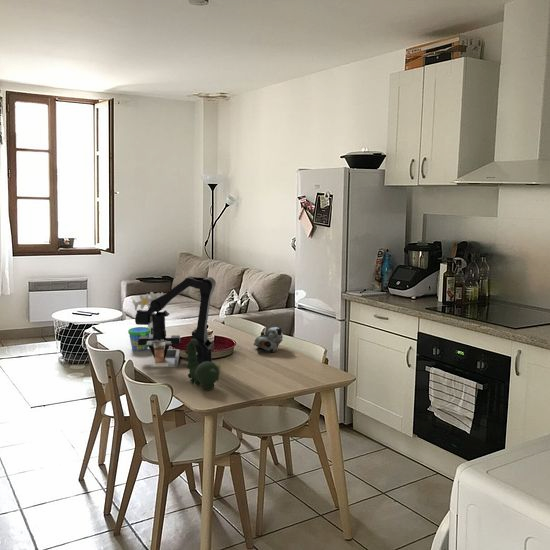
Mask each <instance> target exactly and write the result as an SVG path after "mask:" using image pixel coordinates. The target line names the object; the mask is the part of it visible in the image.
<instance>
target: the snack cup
mask: <svg viewBox="0 0 550 550" xmlns="http://www.w3.org/2000/svg"><path fill="white" fill-rule="evenodd" d="M147 327H148V326H147ZM147 327H146V326H138V327H137V326H136V327H131V328H128V330H127V331H128V335H129V339H130V340H129V341H130V345H131V350H132V351H134V352H135V351H136V352H141V351H142V352H143V351H145V350H148V348H149V347H147V346H146V345H147V343H146V344H145V345H138V339H139V337H140V336H148V338H149V334H150V332H151V331H150V328H147Z"/></svg>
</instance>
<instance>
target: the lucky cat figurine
mask: <svg viewBox="0 0 550 550" xmlns="http://www.w3.org/2000/svg"><path fill="white" fill-rule="evenodd" d="M283 338H284V334H283V330H282V327H280V328H279V327H277V326H273V327H270V328H268V329H267V331H266V332H264V331H261V332H260V335H259V336H257V337H256V338H255V340H254V342H253V346H255V347H257V348H259V349H263V350H265V351H267V352H270V353H272V354H274V353H275V352H278V350H279V345H280V344H281V343H282V342H283V340H284V339H283Z"/></svg>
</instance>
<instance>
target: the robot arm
mask: <svg viewBox="0 0 550 550" xmlns="http://www.w3.org/2000/svg"><path fill="white" fill-rule="evenodd" d="M216 284H217V283H216V280H215V278H213V277H211V276H207V277H198V276H197V277H196V276H191V275H189V276H187V277H185V278H184V279H183V280H182V281H181V282H179V283H178V284H177V285H176V286H174V287H173V288H171V289H170V290H169V291H167V292H166V293H165V294H164V293H163V295H162V296H160V297H158V298H156V299H154V300H153V301H152V302H151V303H150V308H149V309H148V308H147V310H145V309H137V310H136V314H135V318H134V321H135V324H136V325H138V326H140V325H141V326H143V325H144V326H148V325H149V324H150V323H152V325H153V328H151V335H153V338H148V336H140V337H139V339H138V345H145V344H146V343H147V345H146V346H147V347H148V348H149V351H151V354H152V356H153V357H154V358H155V343H165V344H164V346H165V350H164V358H165V357H166V353H167V350H168V349H169V348H170V347H172V345H180V344H181V336H180V335H179V334H177V335H176V334H175V335H171V336H170V337H167V330H166V317H169V316H170V313H169V312H168V311H167V310H166V309H165V308H166V307H167V306H169V304H170V302H171V301H172V300H173V299H175V298H176V297H177V296H179V295H180V294H181V293H183V291H185V290H186V289H188V288H195V289H198V290H199V294H200V303H199V309H198V318H197V326H196V328H195V329H194V330H193V331H192V332H191V339H193V338H194V339H196V340H197V341H198V346H196V344H195V349H196V356H197V361H198V363H199V364H201V363H202V362H205V361H210V362H213V361H212V347H213V342H211V340H210V339H208V337H209V336H208V335H209V333H208V329H207V326H208V321H209V312H210V305H211V298H212V295H213V293H214V291H215V288H216ZM164 309H165V310H164ZM162 310H163V311H162ZM153 312H155V313H153Z"/></svg>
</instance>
